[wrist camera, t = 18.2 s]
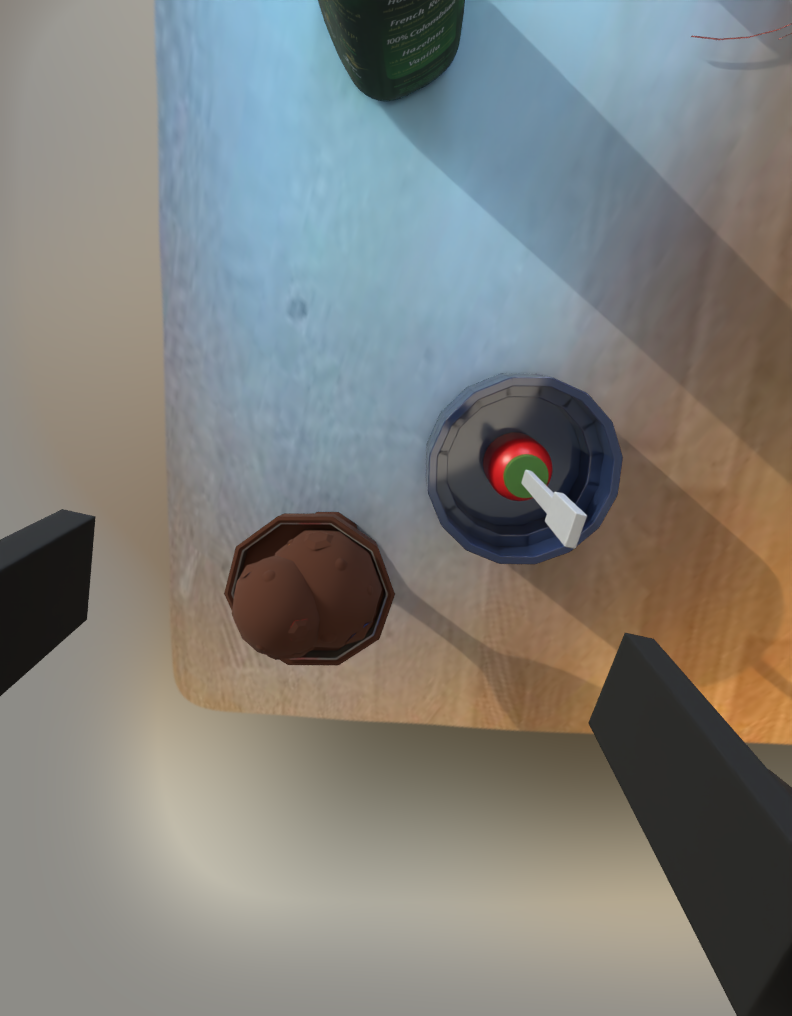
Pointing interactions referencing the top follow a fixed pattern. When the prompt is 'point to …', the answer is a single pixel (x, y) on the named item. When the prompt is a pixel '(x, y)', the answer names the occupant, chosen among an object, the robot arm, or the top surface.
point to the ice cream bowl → (309, 589)
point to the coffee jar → (394, 42)
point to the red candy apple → (532, 482)
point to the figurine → (738, 37)
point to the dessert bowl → (551, 422)
